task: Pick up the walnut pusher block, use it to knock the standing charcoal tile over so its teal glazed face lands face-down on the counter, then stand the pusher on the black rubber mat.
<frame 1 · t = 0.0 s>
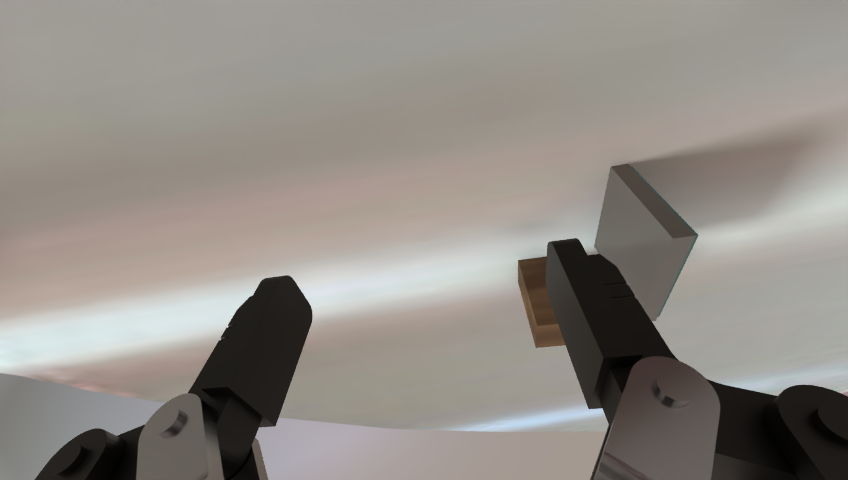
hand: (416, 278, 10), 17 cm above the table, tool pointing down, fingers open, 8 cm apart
pusher: (535, 269, 35), on the table
tile: (610, 208, 29), on the table
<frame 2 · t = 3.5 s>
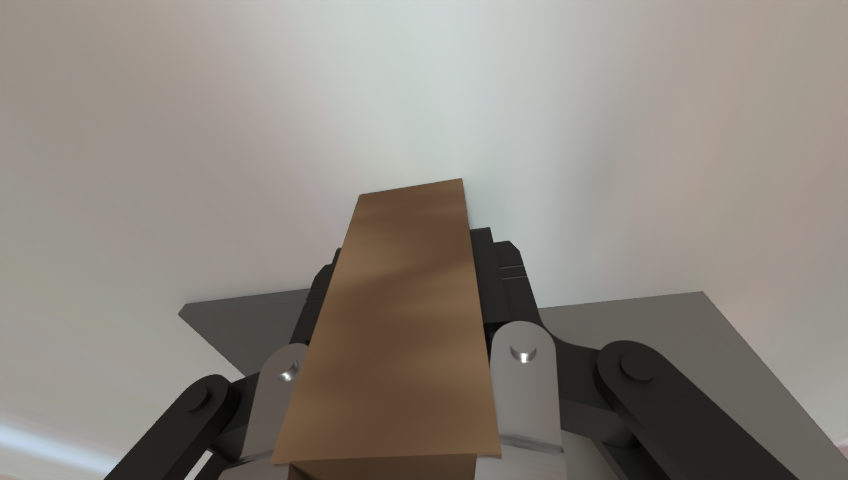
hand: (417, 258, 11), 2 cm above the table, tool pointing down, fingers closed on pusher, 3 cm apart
pusher: (420, 227, 12), on the table, touching gripper
tile: (592, 313, 15), on the table
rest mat: (311, 347, 17), on the table
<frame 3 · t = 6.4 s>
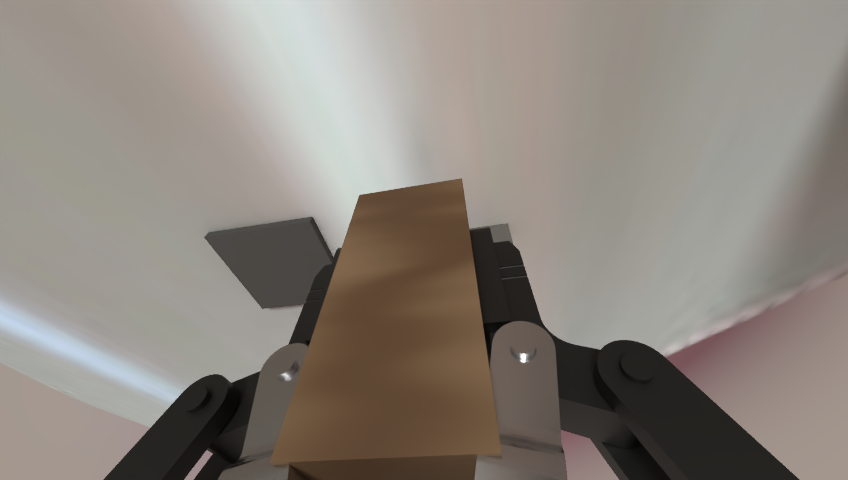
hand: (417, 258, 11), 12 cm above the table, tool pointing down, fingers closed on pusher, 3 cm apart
pusher: (420, 228, 12), point 10 cm above the table, touching gripper
tile: (450, 239, 25), on the table
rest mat: (285, 265, 28), on the table
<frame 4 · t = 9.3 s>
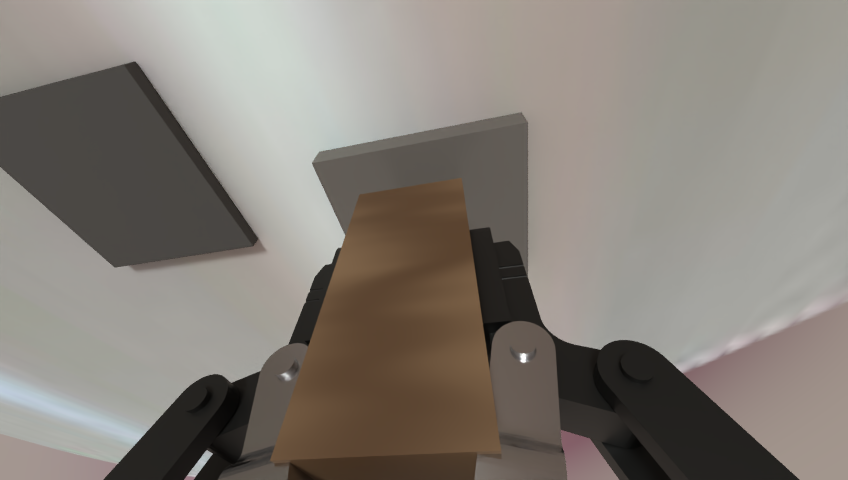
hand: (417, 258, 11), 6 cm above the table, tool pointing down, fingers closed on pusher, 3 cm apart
pusher: (419, 227, 12), point 4 cm above the table, touching gripper
tile: (415, 136, 14), on the table, tilted 90°
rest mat: (127, 182, 16), on the table
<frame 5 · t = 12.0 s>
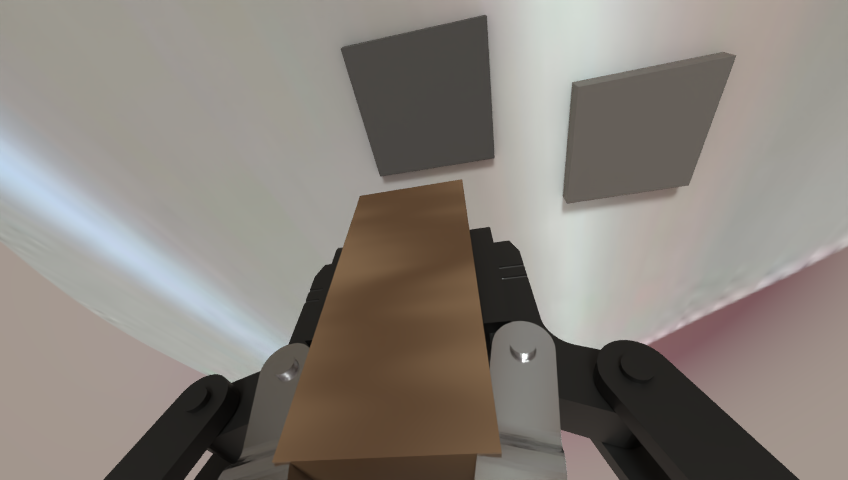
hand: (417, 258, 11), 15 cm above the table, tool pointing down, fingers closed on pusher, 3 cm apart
pusher: (420, 228, 12), point 14 cm above the table, touching gripper
tile: (647, 68, 20), on the table, tilted 90°
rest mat: (425, 105, 23), on the table
when the fingers open (3 cm above the table, at t = 14.6 s): pusher drops 1 cm, resting on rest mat.
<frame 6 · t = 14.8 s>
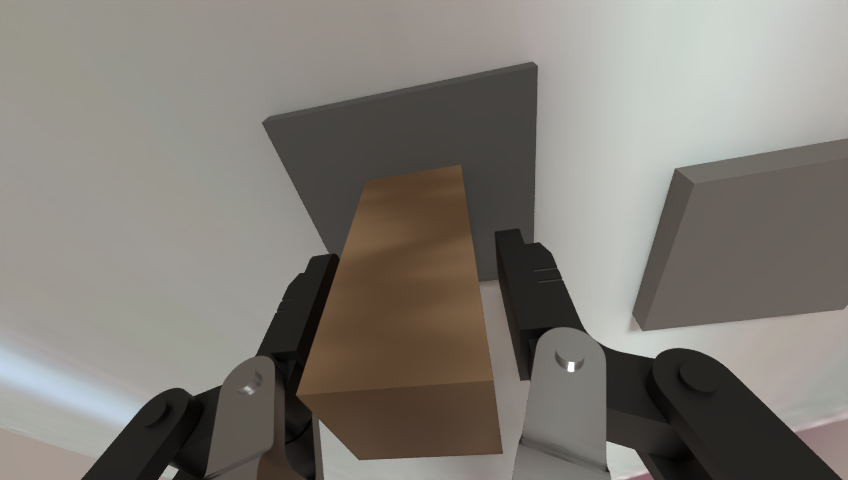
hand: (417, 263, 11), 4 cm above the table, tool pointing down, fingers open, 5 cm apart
pusher: (422, 212, 13), point 1 cm above the table, touching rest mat
tile: (821, 148, 11), on the table, tilted 90°
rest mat: (420, 203, 13), on the table
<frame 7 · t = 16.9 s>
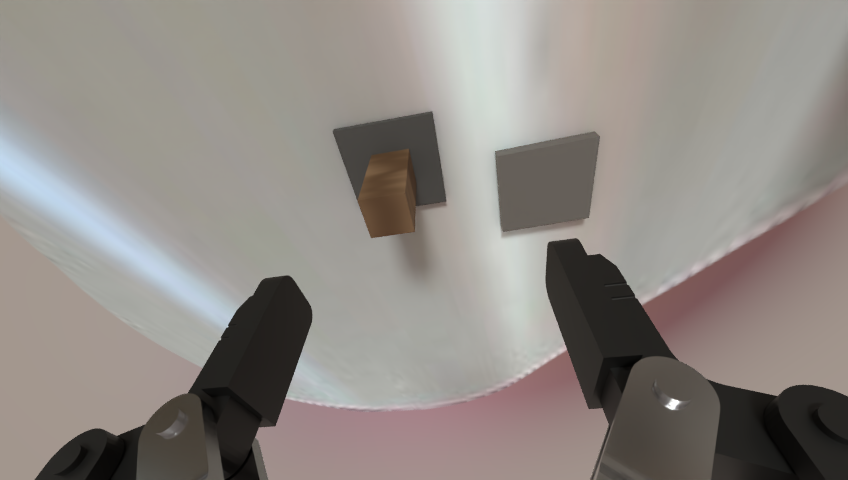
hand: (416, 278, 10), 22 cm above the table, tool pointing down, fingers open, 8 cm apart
pusher: (394, 169, 31), point 1 cm above the table, touching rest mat
tile: (544, 143, 30), on the table, tilted 90°
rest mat: (394, 166, 31), on the table
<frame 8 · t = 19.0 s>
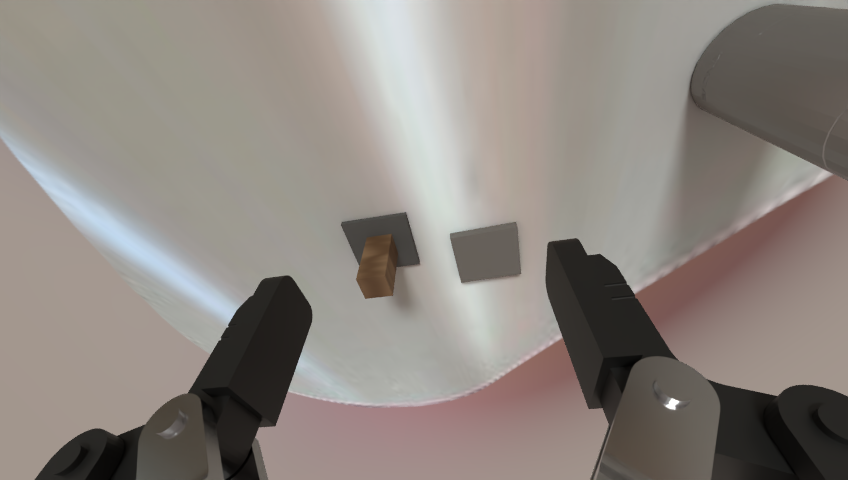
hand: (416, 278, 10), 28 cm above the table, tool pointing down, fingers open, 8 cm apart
pusher: (382, 245, 45), point 1 cm above the table, touching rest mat
tile: (482, 229, 44), on the table, tilted 90°
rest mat: (382, 242, 46), on the table
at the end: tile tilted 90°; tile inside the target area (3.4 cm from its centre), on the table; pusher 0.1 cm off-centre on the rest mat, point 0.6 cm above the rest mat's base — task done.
